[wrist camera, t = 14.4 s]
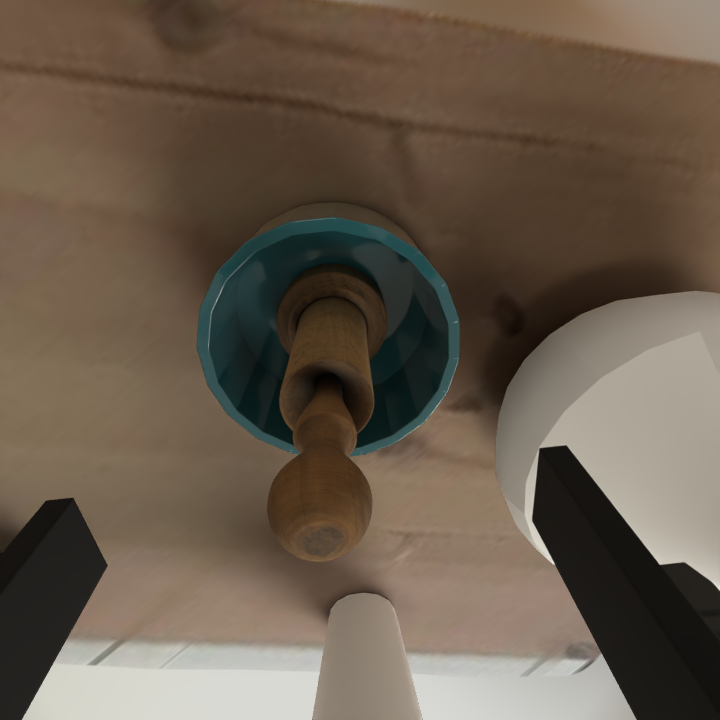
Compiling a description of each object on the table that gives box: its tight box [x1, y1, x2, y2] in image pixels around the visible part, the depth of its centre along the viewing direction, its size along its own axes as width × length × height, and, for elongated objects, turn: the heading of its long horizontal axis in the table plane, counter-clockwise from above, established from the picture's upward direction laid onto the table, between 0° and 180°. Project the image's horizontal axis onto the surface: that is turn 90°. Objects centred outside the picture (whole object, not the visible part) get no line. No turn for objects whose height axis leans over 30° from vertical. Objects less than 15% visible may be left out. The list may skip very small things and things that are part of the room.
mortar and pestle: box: [267, 264, 387, 562], centre depth 19 cm, size 7×6×18 cm
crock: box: [197, 202, 460, 457], centre depth 25 cm, size 13×13×7 cm
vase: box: [496, 291, 720, 590], centre depth 23 cm, size 18×18×19 cm
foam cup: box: [312, 593, 423, 720], centre depth 36 cm, size 10×9×13 cm
